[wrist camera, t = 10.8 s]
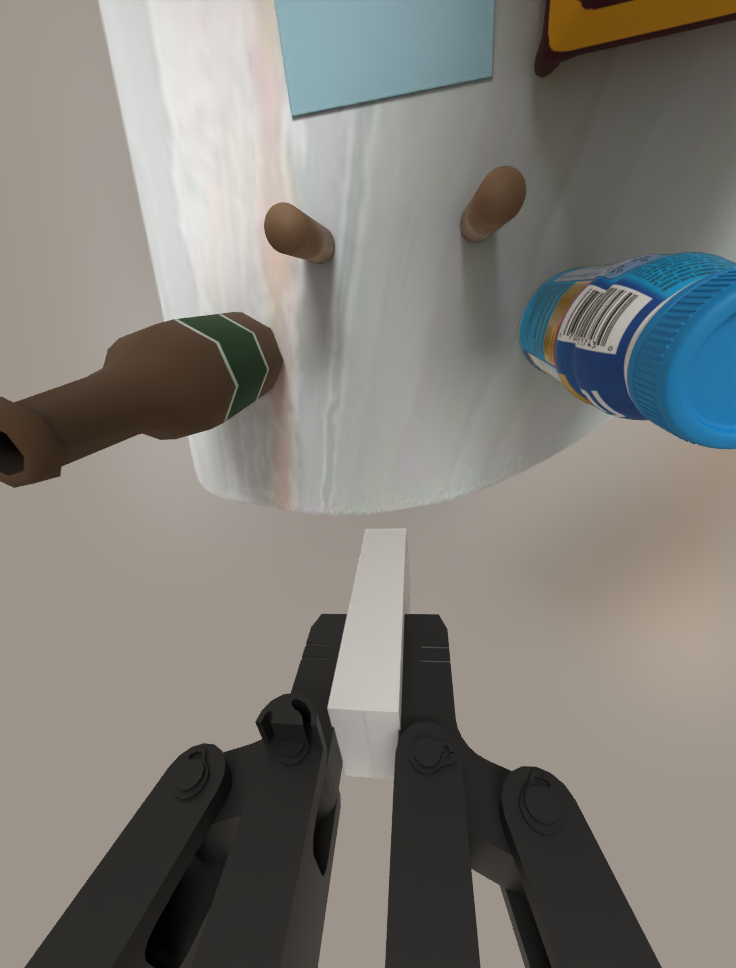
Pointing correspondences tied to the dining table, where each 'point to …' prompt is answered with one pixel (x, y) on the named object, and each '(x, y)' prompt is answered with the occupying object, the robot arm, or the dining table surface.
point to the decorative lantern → (618, 24)
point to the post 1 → (298, 234)
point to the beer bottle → (142, 393)
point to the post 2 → (493, 203)
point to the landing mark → (380, 48)
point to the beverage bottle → (644, 341)
